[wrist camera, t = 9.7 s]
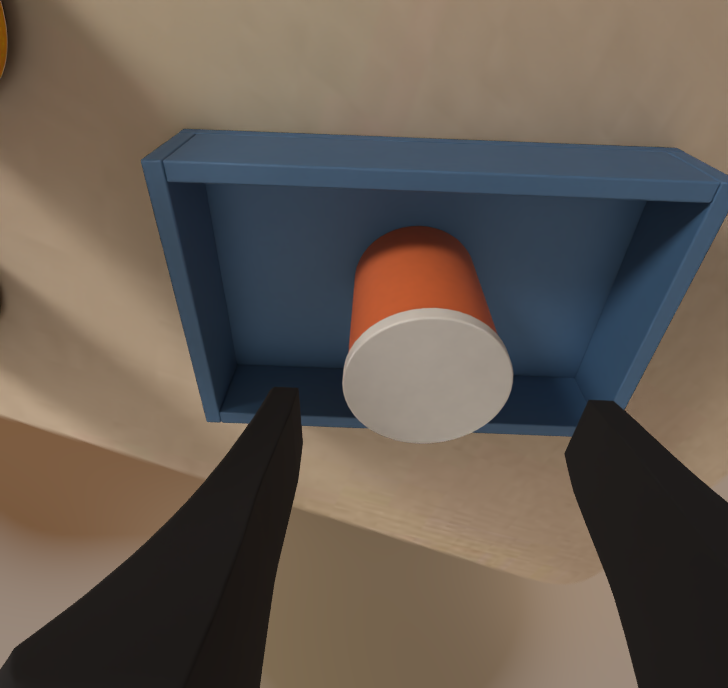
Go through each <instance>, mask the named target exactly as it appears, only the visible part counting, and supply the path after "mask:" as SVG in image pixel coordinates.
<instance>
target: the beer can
mask: <svg viewBox="0 0 728 688" xmlns="http://www.w3.org/2000/svg"><path fill="white" fill-rule="evenodd" d="M7 46H8V38H7V27H6V21H5V15H4V10H3V6H2V2H1V0H0V79H1V77H2V74H3V71H4V68H5V65H6V58H7Z"/></svg>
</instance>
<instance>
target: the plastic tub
mask: <svg viewBox="0 0 728 688" xmlns="http://www.w3.org/2000/svg"><path fill="white" fill-rule="evenodd" d="M512 384H513V367H512V363H511V360H510V357H509V354H508V352H507V349H506V347H505V345H504V343H503V341H502V340H501V338H500V337H499V336H498V334H497V331H496V328H495V325H494V322H493V320H492V317H491V314H490V311H489V308H488V305H487V302H486V299H485V296H484V293H483V291H482V288H481V285H480V282H479V279H478V276H477V273H476V270H475V267H474V264H473V261H472V259H471V256H470V255H469V253H468V251H467V250H466V248H465V247H464V246H463V245H462V244H461V243H460V242H459V241H458V240H457V239H456V238H455V237H453V236H452V235H450V234H448V233H446V232H444V231H442V230H439V229H436V228H432V227H425V226H410V227H403V228H400V229H396V230H393V231H391V232H389V233H386V234H385V235H383V236H381V237H380V238H378V239H377V240H376V241H374V242H373V243H372V244H371V245H370V246H369V247H368V248H367V249H366V251H365V252H364V253H363V255H362V257H361V258H360V260H359V263H358V265H357V268H356V272H355V281H354V292H353V304H352V316H351V328H350V339H349V351H348V355H347V357H346V360H345V364H344V370H343V380H342V386H343V393H344V397H345V400H346V402H347V405H348V407H349V408H350V410H351V411H352V413H353V414H354V416H355V417H356V418H357V419H358V420H359V421H360V422H361V423H362V424H364V425H365V426H366V427H368V428H369V429H371V430H372V431H374V432H376V433H378V434H380V435H382V436H385V437H387V438H390V439H393V440H397V441H402V442H407V443H418V444H422V443H439V442H444V441H449V440H453V439H457V438H460V437H462V436H465V435H468V434H470V433H472V432H474V431H476V430H478V429H479V428H481V427H482V426H484V425H485V424H487V423H488V422H489V421H491V420H492V419H493V418H494V417H495V416H496V415H497V414H498V413H499V411H500V410H501V409H502V408H503V406H504V405H505V403H506V401H507V400H508V397H509V395H510V392H511V389H512Z"/></svg>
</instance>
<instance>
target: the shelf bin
mask: <svg viewBox="0 0 728 688" xmlns="http://www.w3.org/2000/svg"><path fill="white" fill-rule="evenodd" d="M141 164H142V168H143V172H144V176H145V180H146V184H147V188H148V191H149V195H150V199H151V203H152V207H153V211H154V215H155V219H156V223H157V227H158V231H159V235H160V239H161V243H162V247H163V251H164V255H165V259H166V262H167V266H168V270H169V274H170V278H171V282H172V286H173V290H174V294H175V298H176V302H177V306H178V310H179V314H180V318H181V322H182V326H183V330H184V333H185V337H186V341H187V345H188V349H189V353H190V357H191V361H192V365H193V369H194V373H195V377H196V381H197V385H198V389H199V393H200V397H201V401H202V404H203V408H204V412H205V416H206V420H207V422H221V421H222V422H223V423H247V424H249V423H250V421H251V420H252V418H253V417H254V416H255V414H256V412H257V411H258V409H259V408H260V406H261V405H262V403H263V401H264V400H265V398H266V396H267V395H268V393H269V391H270V390H271V389H272V388H273V387H292V388H299V400H300V412H301V425H302V426H321V427H346V428H368V427H366V426H365V425H364V424H362V423H361V422H360V421H359V420H358V419H357V418H356V417H355V416H354V414H353V413H352V411H351V410H350V408H349V407H348V405H347V402H346V400H345V397H344V393H343V386H342V380H343V370H344V364H345V360H346V357H347V355H348V351H349V339H350V328H351V316H352V304H353V292H354V281H355V272H356V268H357V265H358V263H359V260H360V258H361V257H362V255H363V253H364V252H365V251H366V249H367V248H368V247H369V246H370V245H371V244H372V243H373V242H374V241H376V240H377V239H378V238H380V237H381V236H383V235H385V234H386V233H389V232H391V231H393V230H396V229H400V228H403V227H410V226H425V227H432V228H436V229H439V230H442V231H444V232H446V233H448V234H450V235H452V236H453V237H455V238H456V239H457V240H458V241H459V242H460V243H461V244H462V245H463V246H464V247H465V248H466V250H467V251H468V253H469V255H470V256H471V259H472V261H473V264H474V267H475V270H476V273H477V276H478V279H479V282H480V285H481V288H482V291H483V293H484V296H485V299H486V302H487V305H488V308H489V311H490V314H491V317H492V320H493V322H494V325H495V328H496V331H497V334H498V336H499V337H500V338H501V340H502V341H503V343H504V345H505V347H506V349H507V352H508V354H509V357H510V360H511V363H512V367H513V384H512V389H511V392H510V395H509V397H508V400H507V401H506V403H505V405H504V406H503V408H502V409H501V410H500V411H499V413H498V414H497V415H496V416H495V417H494V418H493V419H492V420H491V421H489V422H488V423H487V424H485V425H484V426H482V427H481V428H479V429H478V430H476V431H474V432H472V433H495V434H519V435H544V436H569V437H572V436H573V433H574V431H575V429H576V427H577V425H578V422H579V420H580V418H581V416H582V413H583V411H584V409H585V407H586V404H587V402H588V400H608V401H614V402H615V403H617V404H618V405H619V406H620V407H621V408H622V409H623V410H625V408H626V406H627V404H628V402H629V400H630V398H631V396H632V394H633V393H634V391H635V389H636V387H637V385H638V383H639V381H640V379H641V377H642V375H643V373H644V372H645V370H646V368H647V366H648V364H649V362H650V360H651V358H652V356H653V354H654V353H655V351H656V349H657V347H658V345H659V343H660V341H661V339H662V337H663V335H664V333H665V332H666V330H667V328H668V326H669V324H670V322H671V320H672V318H673V316H674V314H675V312H676V311H677V309H678V307H679V305H680V303H681V301H682V299H683V297H684V295H685V293H686V292H687V290H688V288H689V286H690V284H691V282H692V280H693V278H694V276H695V274H696V272H697V271H698V269H699V267H700V265H701V263H702V261H703V259H704V257H705V255H706V253H707V251H708V250H709V248H710V246H711V244H712V242H713V240H714V238H715V236H716V234H717V232H718V231H719V229H720V227H721V225H722V223H723V221H724V219H725V217H726V215H727V213H728V175H726V174H724V173H722V172H721V171H719V170H717V169H715V168H713V167H711V166H709V165H707V164H706V163H704V162H702V161H700V160H698V159H696V158H694V157H692V156H690V155H689V154H687V153H685V152H684V151H682V150H680V149H678V148H664V147H638V146H612V145H586V144H561V143H535V142H509V141H484V140H458V139H432V138H406V137H381V136H355V135H329V134H303V133H278V132H252V131H226V130H200V129H183V130H181V131H180V132H179V133H178V134H176V135H175V136H174V137H172V138H171V139H169V140H168V141H167V142H165V143H164V144H162V145H161V146H160V147H158V148H157V149H155V150H154V151H153V152H151V153H150V154H148V155H147V156H146V157H144V158H143V159H141Z"/></svg>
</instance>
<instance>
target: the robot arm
mask: <svg viewBox="0 0 728 688" xmlns="http://www.w3.org/2000/svg"><path fill="white" fill-rule="evenodd" d="M302 446H303V438H302V425H301V412H300V400H299V388H292V387H273V388H272V389H271V390H270V391H269V393H268V395H267V396H266V398H265V400H264V401H263V403H262V405H261V406H260V408H259V409H258V411H257V412H256V414H255V416H254V417H253V418H252V420H251V421H250V423H249V424H248V426H247V427H246V429H245V430H244V432H243V433H242V434H241V436H240V437H239V438H238V440H237V441H236V442H235V444H234V445H233V447H232V448H231V449H230V451H229V452H228V453H227V455H226V456H225V457H224V458H223V460H222V461H221V462H220V463H219V465H218V466H217V467H216V468H215V469H214V471H213V472H212V473H211V474H210V475H209V477H208V478H207V479H206V480H205V482H204V483H203V484H202V485H201V486H200V487H199V489H198V490H197V491H196V492H195V493H194V494H193V495H192V496H191V498H190V499H189V500H188V501H187V502H186V503H185V504H184V505H183V506H182V507H181V508H180V509H179V510H178V511H177V512H176V513H175V514H174V516H173V517H171V518H170V519H169V521H168V522H166V523H165V525H163V526H162V527H161V528H160V529H159V530H158V531H157V532H156V533H155V534H154V535H153V536H152V537H151V538H150V539H149V540H148V541H147V542H146V543H145V544H144V545H143V546H141V547H140V548H139V549H138V550H137V551H136V552H135V553H134V554H133V555H132V556H130V557H129V558H128V559H127V560H126V561H125V562H124V563H122V564H121V565H120V566H119V567H118V568H116V569H115V570H114V571H113V572H112V573H110V574H109V575H108V576H107V577H106V578H105V579H103V580H102V581H101V582H100V583H99V584H97V585H96V586H95V587H94V588H93V589H91V590H90V591H89V592H88V593H87V594H85V595H84V596H83V597H82V598H80V599H79V600H78V601H77V602H75V603H74V604H73V605H71V606H70V607H69V608H67V609H66V610H65V611H63V612H62V613H61V614H59V615H58V616H57V617H55V618H54V619H53V620H51V621H50V622H49V623H47V624H46V625H45V626H44V627H42V628H41V629H39V630H38V631H37V632H36V633H34V634H33V635H31V636H30V637H29V638H27V639H26V640H25V641H23V642H22V643H21V644H19V645H18V646H17V647H15V648H14V650H13V651H12V653H11V654H10V656H9V658H8V659H7V661H6V662H5V664H4V665H3V666H2V668H1V669H0V688H260V681H261V674H262V666H263V659H264V652H265V644H266V637H267V629H268V622H269V616H270V609H271V602H272V595H273V589H274V582H275V577H276V572H277V567H278V563H279V559H280V554H281V550H282V546H283V542H284V538H285V534H286V529H287V525H288V521H289V517H290V513H291V508H292V504H293V500H294V496H295V492H296V487H297V483H298V477H299V470H300V462H301V454H302ZM564 454H565V458H566V463H567V467H568V472H569V476H570V480H571V484H572V487H573V491H574V494H575V497H576V500H577V502H578V505H579V507H580V510H581V513H582V515H583V518H584V520H585V523H586V526H587V528H588V531H589V533H590V536H591V538H592V541H593V543H594V546H595V548H596V551H597V553H598V556H599V558H600V561H601V564H602V566H603V569H604V571H605V573H606V576H607V579H608V582H609V584H610V587H611V590H612V593H613V596H614V599H615V602H616V606H617V609H618V612H619V616H620V620H621V623H622V627H623V630H624V634H625V637H626V641H627V645H628V649H629V652H630V656H631V660H632V664H633V668H634V672H635V676H636V679H637V684H638V688H728V502H726V501H725V500H724V499H723V498H722V497H720V496H719V495H718V494H717V493H715V492H714V491H713V490H712V489H711V488H710V487H708V486H707V485H706V484H705V483H704V482H703V481H701V480H700V479H699V478H698V477H697V476H696V475H694V474H693V473H692V472H691V471H690V470H689V469H688V468H687V467H685V466H684V465H683V464H682V463H681V462H680V461H679V460H678V459H677V458H675V457H674V456H673V455H672V454H671V453H670V452H669V451H668V450H667V449H666V448H664V447H663V446H662V445H661V444H660V443H659V442H658V441H657V440H656V439H655V438H654V437H653V436H652V435H650V434H649V433H648V432H647V431H646V430H645V429H644V428H643V427H642V426H641V425H640V424H639V423H638V422H637V421H635V420H634V419H633V418H632V417H631V416H630V415H629V414H628V413H627V412H626V411H625V410H623V409H622V408H621V407H620V406H619V405H618V404H617V403H615V402H614V401H608V400H588V402H587V404H586V407H585V409H584V411H583V413H582V416H581V418H580V420H579V422H578V425H577V427H576V429H575V431H574V433H573V436H572V438H571V440H570V442H569V445H568V447H567V449H566V451H565V453H564Z"/></svg>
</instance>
